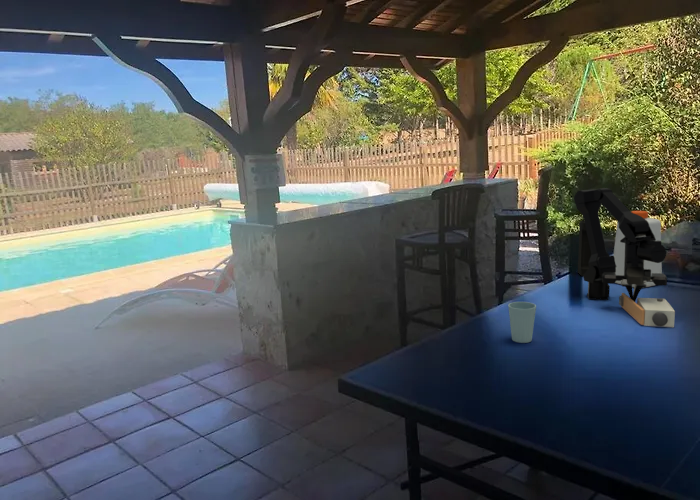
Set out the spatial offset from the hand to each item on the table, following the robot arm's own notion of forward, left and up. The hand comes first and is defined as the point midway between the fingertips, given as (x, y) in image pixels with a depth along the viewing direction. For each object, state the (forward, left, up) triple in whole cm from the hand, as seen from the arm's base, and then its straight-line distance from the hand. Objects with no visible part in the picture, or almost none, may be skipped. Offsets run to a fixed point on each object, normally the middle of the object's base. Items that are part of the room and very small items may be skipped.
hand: (632, 303), depth 189 cm
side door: (-2, -7, -2) cm, 8 cm away
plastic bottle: (+7, +38, -2) cm, 39 cm away
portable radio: (-9, +50, -2) cm, 51 cm away
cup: (-34, -36, -2) cm, 50 cm away
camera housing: (+5, -10, -2) cm, 11 cm away
